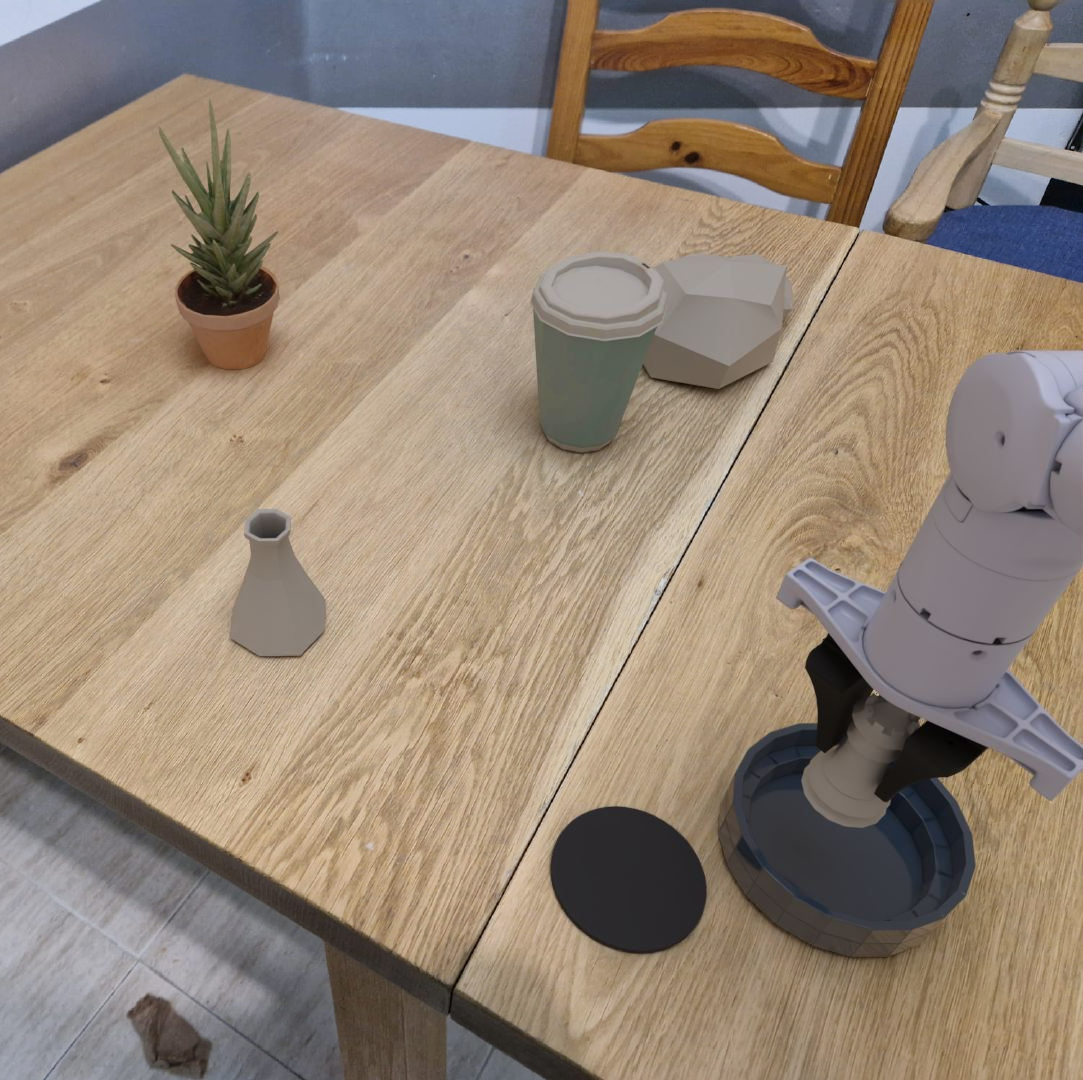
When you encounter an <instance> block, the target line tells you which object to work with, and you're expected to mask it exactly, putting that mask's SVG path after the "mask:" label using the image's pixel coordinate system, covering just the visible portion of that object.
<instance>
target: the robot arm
mask: <svg viewBox="0 0 1083 1080" xmlns="http://www.w3.org/2000/svg"><path fill="white" fill-rule="evenodd" d="M945 450H946V458H947V462H948V467H949V471H950V472H949V474H948V475H947V477H946V478H945V481H944V482H943V484H942V486H941V488H940V490H939V492H938V493H937V496H936V497H935V500H934V501H933V503H932V505H931V506H930V508H929V510H928V513H927V514H926V516H925V518H924V520H923V521H922V524H921V525H920V527H919V529H918V531H917V533H916V535H915V536H914V539H913V540H912V542H911V544H910V546H909V547H908V550H907V551H906V554H905V555H904V557H903V559H902V561H901V563H900V564H899V566H898V568H897V570H896V571H895V574H894V576H893V577H892V579H891V581H890V584H889V585H888V587H887V588H886V591H884V590H881V589H879V588H876V587H873V586H871V585H869V584H866V583H863V582H861V581H858V580H856V579H853V578H852V577H849V576H847V575H844V574H842V573H839V572H837V571H835V570H833V569H831V568H830V567H827V566H825V564H822V563H821V562H819V561H818V560H816V559H814V557H808V558H806V559H805V560H804V561H802V562H801V563H799V564H798V565H796V566H795V567H793V568H792V569H791V570H789V571H788V572H786V573H785V575H784V578H783V580H782V582H781V584H780V586H779V589H778V592H777V595H776V597H775V599H776V600H777V601H779V602H780V603H782V604H783V605H784V606H785V607H787V608H788V609H791V610H796V609H798V608H799V607H800V606H801V607H803V608H804V609H805V610H807V612H809V613H811V614H812V615H813V616H814V617H815V618H816V619H817V621H818V622H819V623H820V624H821V626H823V628H824V629H825V630H826V632H827V635H826V636H825V637H824V638H822V641H821V643H819V644H818V645H817V646H815V647H814V648H812V649H811V650H810V651H809V653H808V654H807V657H806V661H805V665H804V669H805V671H806V673H807V675H808V677H809V680H810V682H811V684H812V686H813V691H814V694H815V699H816V709H817V710H816V711H817V715H816V716H817V717H816V719H817V720H816V721H817V722H816V723H817V734H816V741H815V746H816V747H817V748H819V749H820V750H821V751H822V752H823V753H826V752H827V751H829V750H830V749H831V748H832V747H833V746H835V745H836V744H837V743H838V742H840V741H841V740H842V739H843V738H845V737H846V736H847V730H848V726H849V724H850V723H851V722H852V721H853V717H852V712H853V708H854V705H855V704H856V703H857V702H858V701H859V700H860V699H862V698H865V697H869V696H871V695H872V694H873V693H874V691H875V692H876V693H877V694H878V696H879V695H881V696H882V697H883V698H885V699H886V700H887V701H889V702H890V703H892V704H894V705H895V706H897V707H899V708H901V709H903V710H905V711H907V712H909V713H912V714H914V715H916V716H918V717H921V718H920V719H923V720H925V722H923V723H922V725H921V724H920V727H919V728H918V729H917V730H915V731H914V732H913V733H912V734H911V735H910V736H908V738H907V739H906V741H905V743H904V747H903V750H902V752H901V755H900V757H899V759H898V761H897V762H896V764H895V766H894V768H893V769H892V770H891V772H890V773H889V774H888V775H887V776H886V777H885V778H884V780H883V781H882V782H881V783H880V784H879V785H878V786H877V788H876V790H875V792H874V794H875V795H876V796H877V797H878V798H880V799H881V800H882V801H883V802H888V801H889V800H891V799H892V798H893V797H894V796H895V795H896V794H897V793H899V792H900V791H901V790H902V789H904V788H906V787H908V786H910V785H912V784H915V783H917V782H920V781H923V780H927V779H932V778H938V779H940V778H950V777H953V776H955V775H957V774H959V773H962V772H963V771H964V770H966V769H967V768H968V767H969V766H971V764H972V763H974V762H975V761H976V760H977V759H978V758H980V756H982V754H984V753H985V752H986V751H987V750H988V749H991V750H993V751H995V752H998V753H999V754H1002V755H1004V756H1006V757H1007V758H1009V759H1010V760H1012V761H1013V762H1014V763H1016V764H1017V765H1018V766H1020V767H1021V768H1023V769H1024V770H1025V771H1027V772H1028V773H1029V774H1031V775H1032V777H1031V778H1030V780H1029V782H1028V783H1029V787H1031V788H1032V789H1033V790H1034V791H1035V792H1037V793H1038V794H1040V795H1041V796H1042V797H1043V798H1045V799H1046V800H1048V801H1049V802H1052V801H1054V800H1055V799H1056V798H1057V797H1058V796H1059V795H1060V794H1061V793H1062V792H1063V791H1064V790H1065V789H1066V788H1068V786H1069V785H1070V784H1071V783H1072V782H1073V781H1074V780H1075V779H1077V777H1078V776H1079V775H1080V774H1081V773H1082V771H1083V744H1082V743H1080V742H1079V741H1078V740H1077V739H1075V738H1074V737H1073V736H1072V735H1070V733H1068V732H1067V731H1066V730H1065V729H1064V728H1063V726H1061V725H1060V724H1059V723H1058V721H1056V720H1055V719H1054V717H1052V715H1051V714H1050V713H1049V712H1048V710H1046V709H1045V707H1044V706H1042V704H1041V703H1040V702H1039V701H1038V700H1037V699H1036V698H1035V697H1034V696H1033V695H1032V693H1031V692H1030V691H1029V690H1028V689H1027V687H1025V686H1024V685H1023V684H1022V682H1021V681H1020V680H1019V679H1018V678H1017V677H1016V675H1015V674H1013V673H1012V672H1011V670H1010V667H1011V666H1012V664H1013V663H1014V661H1015V660H1016V659H1017V658H1018V657H1019V655H1020V654H1021V652H1022V651H1023V649H1025V647H1026V646H1027V644H1028V643H1029V641H1030V640H1031V638H1032V637H1033V636H1034V634H1035V633H1036V631H1038V629H1039V627H1040V626H1041V624H1042V623H1043V621H1044V620H1045V619H1046V617H1047V616H1048V615H1049V613H1050V612H1051V610H1052V609H1053V608H1054V606H1055V605H1056V604H1057V602H1058V601H1059V600H1060V599H1061V597H1062V595H1063V594H1064V593H1065V591H1066V590H1067V589H1068V587H1069V586H1070V584H1071V583H1072V582H1073V581H1074V579H1075V578H1076V576H1077V575H1078V574H1079V572H1080V571H1081V569H1082V568H1083V350H1037V349H1036V350H1033V349H1032V350H1011V351H1007V352H1004V353H1003V352H992V353H988V354H985V355H983V356H981V357H979V358H977V359H976V360H974V362H972V364H970V365H969V367H967V368H966V370H965V371H964V372H963V374H962V376H961V378H960V379H959V381H958V383H957V384H956V387H955V389H954V391H953V394H952V396H951V399H950V403H949V407H948V412H947V416H946V423H945Z"/></svg>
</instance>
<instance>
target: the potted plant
mask: <svg viewBox="0 0 1083 1080" xmlns="http://www.w3.org/2000/svg"><path fill="white" fill-rule="evenodd" d="M208 113H209V128H210V143H211V145H210V146H211V164H212V178H211V172H210V166H209V163H208V161H207V160H205V163H206V179H207V187H208V191H207V189H206V188H205V186H204V184H203V182H202V180H201V178H200V176H199V174H198V172H197V171H196V168H195V167H194V166H193V164H192V162H191V160H190V158H189V156H188V154H187V153H186V151H185V148H184V147H180V150H181V154H182V158H181V156H180V154H179V153H178V152H177V151H176V149H175V148H174V147H173V145H172V143H171V142H170V141H169V139H168V138H167V136H166V135H165V133H164V131H163V129H162V128H161V127H160V126H159V125H158V124H157V125H156V126H157V130H158V135H159V137H160V139H161V141H162V143H163V145H164V147H165V150H166V152H167V153H168V155H169V157H170V158H171V160H172V163H173V165H174V167H175V168H176V170H177V172H178V174H179V175H180V177H181V178H182V180H183V182H184V183H185V184H186V186H187V188H188V189H189V191H190V192H191V194H192V195H193V197H194V198H195V200H196V202H197V203H198V206H199V208H200V210H201V212H199V213H197V211H195V209H194V207H193V205H192V202H191V201H190V199H189V198H188V196H187V195H186V194H185V195H184V198H185V201H186V202H185V201H184V200H183V199H182V198H181V197H180V196H179V195H178V194H177V192H175V191H174V190H173V189H171V194H172V196H173V198H174V200H175V201H176V203H177V205H178V206H179V207H180V209H181V211H182V212H183V214H184V216H186V218H187V219H188V221H189V222H190V224H191V225H192V226H193V228H194V230H195V231H196V233H197V234H198V235H199V237H200V238H201V240H202V242H203V243H202V242H201V241H200V240H199V239H198V238H197V237H196V236H195V235H194V234H190V236H191V238H192V240H193V241H194V243H195V245H194V244H190V243H189V244H188V248H189V249H190V250H191V252H188V251H186V250H184V249H182V248H181V247H179V246H177V245H175V244H173V243H171V244H170V247H172V248H173V249H174V250H175V251H176V252H177V253H178V254H180V255H181V256H183V257H184V258H185V259H187V260H188V261H189V264H190V266H191V268H193V269H192V270H190V271H188V272H187V273H185V274H184V275H183V276H181V278H179V280H178V282H177V283H176V285H175V288H174V298H175V301H176V306H177V309H178V312H179V315H180V316H181V317H182V318H183V320H184V321H186V322H188V325H189V327H190V329H191V330H192V332H193V334H194V336H195V338H196V341H197V342H198V345H199V346H200V348H201V350H202V352H203V353H204V356H205V358H206V360H207V361H208V362H209V363H210V364H211V365H212V366H214V367H217V368H220V369H224V370H245V369H248V368H251V367H254V366H255V365H258V364H259V363H260V362H261V361H263V359H264V357H265V356H266V351H267V346H268V342H269V337H270V331H271V327H272V323H273V319H274V314H275V313H274V312H275V311H276V310H277V308H278V305H279V302H280V298H281V296H280V285H279V281H278V279H277V276H276V275H275V273H273V271H271V269H269V268H267V267H265V266H263V265H264V264H263V263H264V260H263V259H264V257H265V256H266V254H267V252H268V250H269V249H270V248H271V245H272V244H271V243H270V242H272V241H273V239H274V238H276V237H277V235H278V233H279V230H276V231H275V232H274V233H272V234H271V235H270V236H269V237H267V238H266V239H265V240H263V241H262V242H261V243H260V244H258V245H257V246H255V248H253V249H252V250H250V251H249V252H248V253H247V251H248V250H249V248H250V246H251V244H252V241H253V236H250V235H251V233H252V232H253V230H254V227H255V225H256V223H257V219H258V215H257V214H256V213H255V211H256V209H257V208H256V207H257V204H258V203H259V198H260V191H257V192H256V193H255V194H254V196H253V197H252V199H251V200H250V201H249V202H248V204H247V200H248V195H249V190H250V186H251V181H252V180H251V179H252V177H251V176H252V174H251V171H249V172H248V173H247V174H246V176H245V179H244V182H243V183H242V186H241V188H240V189H239V192H238V193H237V194H236V196H235V198H234V199H231V182H232V181H231V180H232V144H231V143H232V142H231V141H232V139H231V134H230V133H231V132H230V129H229V128H227V129H226V133H225V138H224V145H223V151H222V158H221V159H220V149H219V137H218V129H217V124H216V118H215V114H214V107H213V104H212V101H211V98H208ZM182 159H183V160H182ZM246 204H247V206H246Z"/></svg>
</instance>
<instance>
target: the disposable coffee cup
mask: <svg viewBox="0 0 1083 1080" xmlns="http://www.w3.org/2000/svg"><path fill="white" fill-rule="evenodd" d="M654 267H655V266H653V265H651V264H650V263H648V262H647V261H645V260H643V259H640V258H638V257H637V256H634V255H631V254H630V253H627V252H613V251H599V250H596V251H591V252H586V253H581V254H576V255H571V256H566V258H564V259H562V260H561V261H558V262H557V263H556V264H554V265H552V266H551V267H549V268H547V269H546V270H545V271H544V273H542V274H541V275H540V276H539V277H538V279H537V282H536V284H535V286H534V289H533V291H532V294H531V298H530V301H529V304H530V305H531V307H532V313H533V315H532V316H533V331H534V332H533V333H534V348H535V349H534V350H535V367H536V379H537V380H536V382H537V383H536V384H537V397H538V398H537V399H538V417H539V424H540V426H541V427H542V431H543V433H544V435H545V437H546V439H547V441H548V442H550V443H551V444H553V445H555V446H556V447H558V448H560V449H561V450H565V451H570V452H576V453H581V454H582V453H589V452H594V451H600V450H602V449H603V448H605V446H607V445H609V444H610V443H612V441H613V439H615V437H616V436H617V434H618V431H619V429H620V426H621V423H622V420H623V418H624V415H625V412H626V410H627V407H628V404H629V402H630V399H631V396H632V394H633V391H634V388H635V387H636V383H637V382H638V378H639V376H640V373H641V371H642V368H643V366H644V365H643V363H644V360H645V358H646V355H647V352H648V350H649V347H650V344H651V342H652V339H653V337H654V334H655V331H656V329H657V326H658V325H660V324H662V323H663V319H664V315H665V312H666V308H667V304H666V301H667V294H666V293H665V291H664V290H663V289H662V288H663V283H664V280H663V279H662V277H661V276H660V275H659V274H658V272H657V271H656V270H655V268H654Z"/></svg>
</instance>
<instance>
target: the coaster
mask: <svg viewBox="0 0 1083 1080" xmlns="http://www.w3.org/2000/svg"><path fill="white" fill-rule="evenodd" d="M550 879H551V885H552V889H553V891H554V895H555V896H556V900H557V901H558V903H559V906H560V907H561V909H562V910H563V911H564V913H565V914H566V917H568V918H569V920H570V921H571V922H572V923H573V924H574V925H575V926H576V927H577V928H578V929H579V930H580V931H581V932H582V933H584V934H585V935H586V936H588V937H589V938H591V939H592V940H593V941H595V942H598V943H599V944H601V945H603V946H605V947H607V948H611V949H613V950H616V951H619V952H625V953H630V954H652V953H658V952H662V951H666V950H668V949H670V948H672V947H675V946H677V945H678V944H679V943H681V942H683V941H684V940H685V939H687V937H688V936H690V934H691V933H692V932H693V931H694V930H695V928H696V927H697V925H698V924H699V922H700V920H701V918H702V916H703V914H704V910H705V906H706V903H707V880H706V876H705V871H704V868H703V866H702V863H701V861H700V858H699V856H698V854H697V853H696V851H695V849H694V848H693V846H692V845H691V844H690V843H689V841H688V839H686V838H685V837H684V836H683V835H682V833H680V831H678V830H677V829H676V828H675V827H674V826H673V825H671V824H669V823H668V822H667V821H665V820H663V819H662V818H660V817H658V816H656V815H654V814H652V813H649V812H648V811H644V810H642V809H638V808H633V807H629V806H618V805H617V806H616V805H615V806H603V807H597V808H594V809H591V810H588V811H586V812H584V813H581V814H580V815H578V816H576V817H575V818H574V819H572V820H571V821H570V822H569V823H568V824H566V826H565V827H564V828H563V829H562V830H561V832H560V834H559V836H558V837H557V839H556V841H555V843H554V846H553V849H552V853H551V857H550Z"/></svg>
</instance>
